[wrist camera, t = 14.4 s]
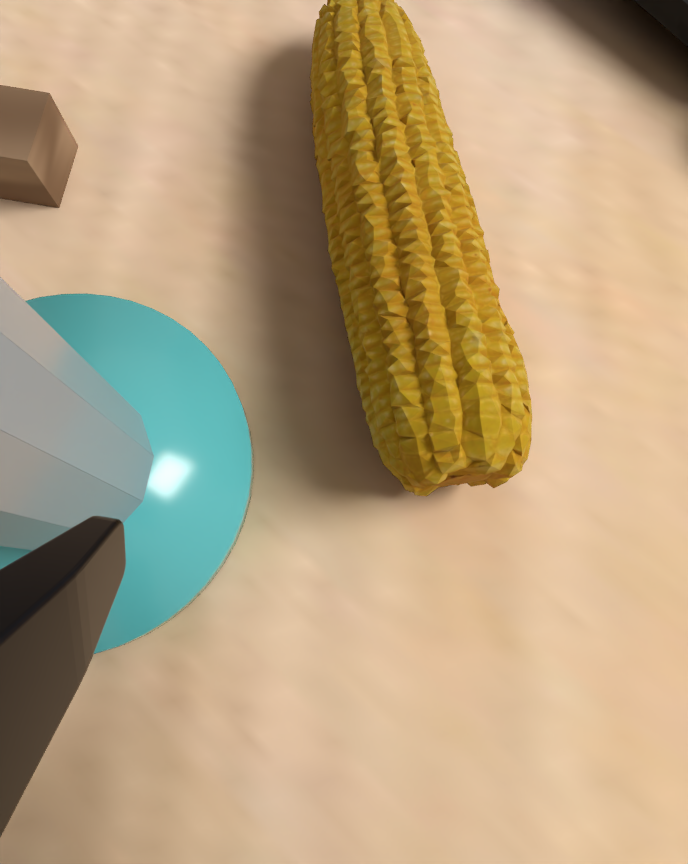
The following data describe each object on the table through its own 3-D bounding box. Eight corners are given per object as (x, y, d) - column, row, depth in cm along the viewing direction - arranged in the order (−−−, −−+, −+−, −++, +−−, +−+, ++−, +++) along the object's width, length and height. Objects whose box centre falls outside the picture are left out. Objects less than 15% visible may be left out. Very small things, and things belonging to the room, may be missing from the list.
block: (60, 209, 26) (27, 160, 23) (-12, 197, 26) (-55, 147, 23) (79, 147, 26) (49, 93, 24) (9, 136, 26) (-30, 80, 24)
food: (520, 485, 24) (584, 453, 18) (376, 515, 23) (395, 491, 18) (395, 39, 29) (415, -99, 23) (274, 56, 28) (262, -81, 22)
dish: (213, 685, 21) (207, 691, 20) (-162, 624, 21) (-190, 626, 20) (282, 336, 25) (280, 323, 23) (-45, 283, 25) (-62, 268, 23)
